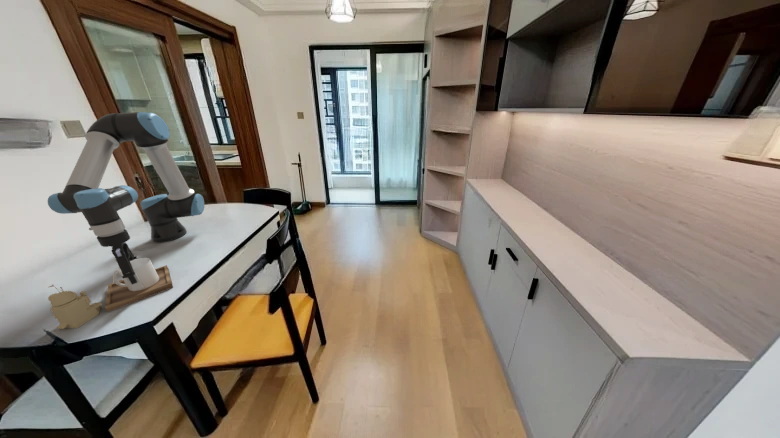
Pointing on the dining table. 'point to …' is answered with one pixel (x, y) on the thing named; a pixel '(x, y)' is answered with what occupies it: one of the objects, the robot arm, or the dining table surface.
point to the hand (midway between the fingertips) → (138, 281)
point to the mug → (140, 273)
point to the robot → (72, 308)
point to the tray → (124, 296)
